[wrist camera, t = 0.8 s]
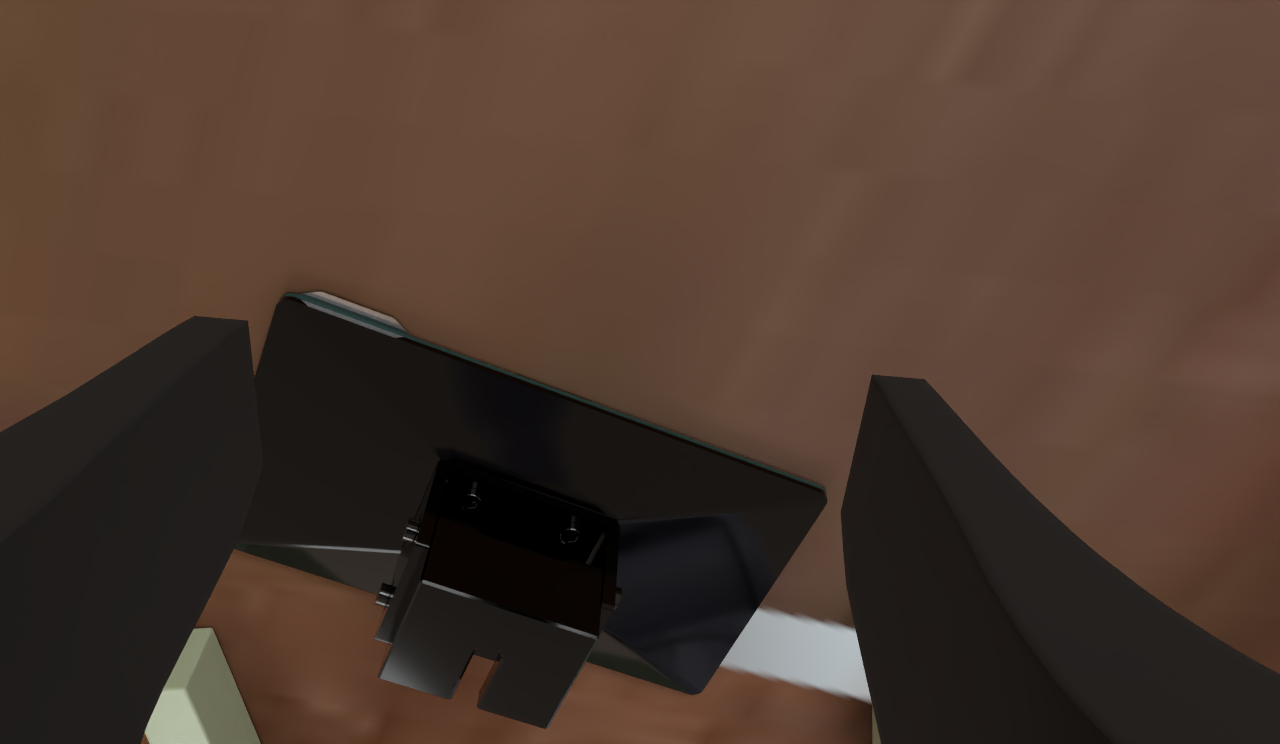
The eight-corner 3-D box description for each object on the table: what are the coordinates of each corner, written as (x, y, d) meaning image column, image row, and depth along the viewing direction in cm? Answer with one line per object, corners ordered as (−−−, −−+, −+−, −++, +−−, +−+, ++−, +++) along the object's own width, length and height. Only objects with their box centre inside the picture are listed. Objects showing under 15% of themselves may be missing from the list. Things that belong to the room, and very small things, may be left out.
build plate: (212, 527, 28) (133, 678, 24) (288, 273, 24) (210, 402, 20) (698, 688, 30) (698, 849, 26) (836, 478, 26) (861, 630, 22)
